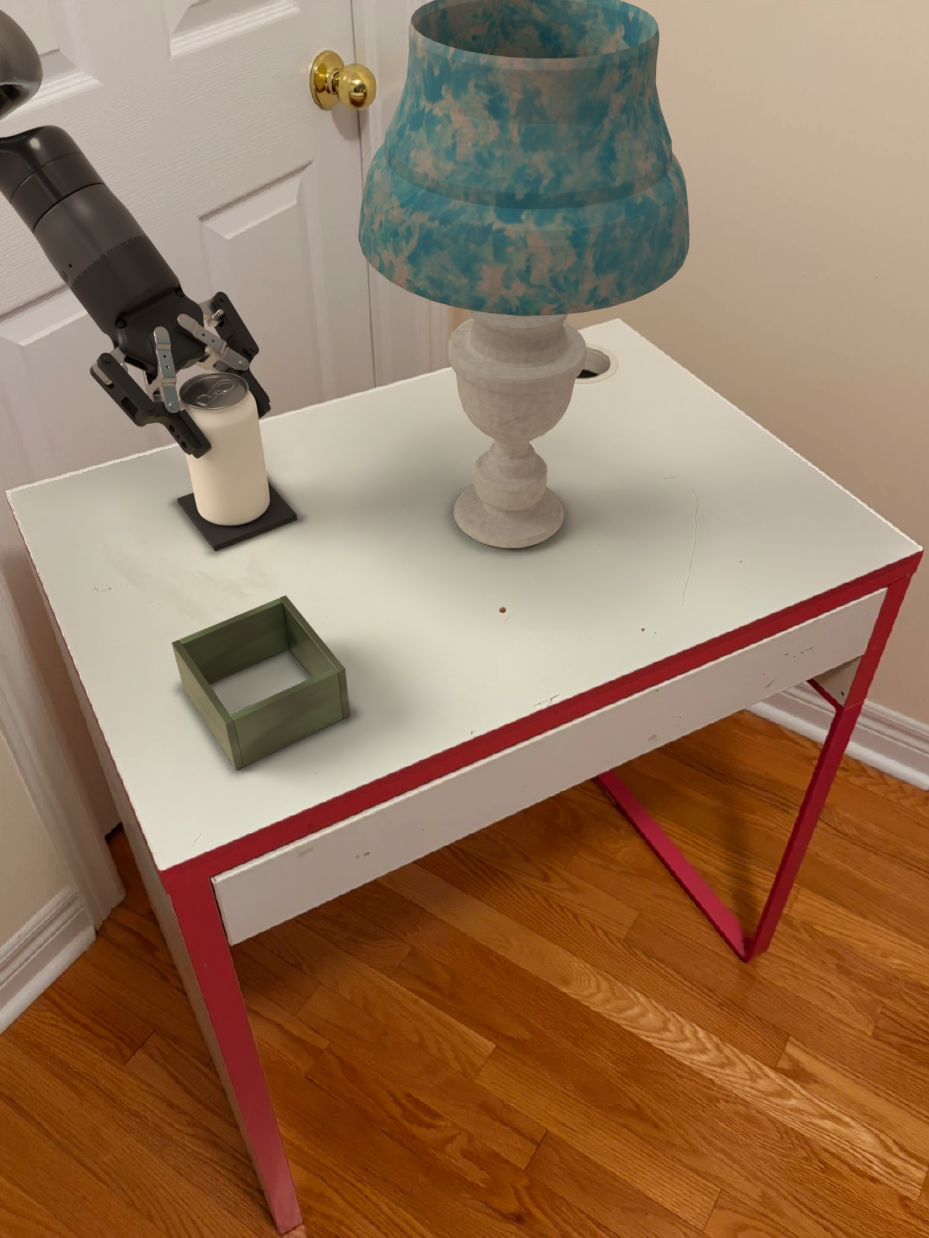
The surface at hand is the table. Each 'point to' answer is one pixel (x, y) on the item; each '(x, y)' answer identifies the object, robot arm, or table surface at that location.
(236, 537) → the mat
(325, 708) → the caddy
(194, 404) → the can
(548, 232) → the table lamp
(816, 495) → the table surface
